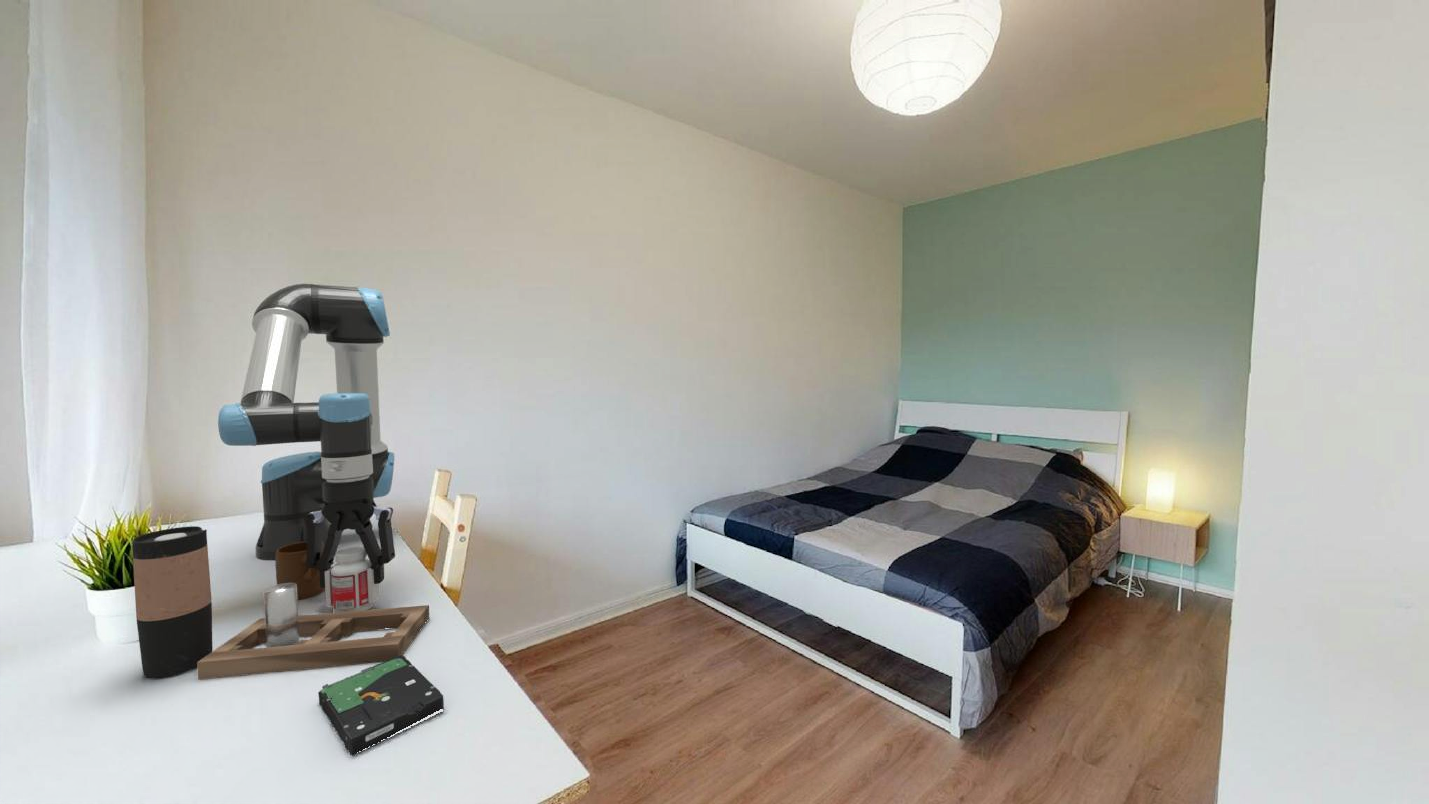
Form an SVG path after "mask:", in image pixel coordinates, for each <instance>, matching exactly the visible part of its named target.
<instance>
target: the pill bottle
mask: <svg viewBox="0 0 1429 804" xmlns="http://www.w3.org/2000/svg"><path fill="white" fill-rule="evenodd" d="M335 562H336V564H333V565H332V566H333V568H332V570H331V581H332V599H333V605H332V610H333V612H332V613H336V612H348V611H361V610H371V608H372V607H373V606H374V603H375V602H374V603H372V604H369V601H368V578H367V569H368V568H369V567H370V566H372V565H371V563H370V560H369V558H368V556H367V553H366V551H365V548H364V546H363V545H362V546H360V545H359V546H351V547H347V548H346V547H345V548H343V549H341V550H339V551H338V550H337V551H336V554H335Z"/></svg>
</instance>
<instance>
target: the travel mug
mask: <svg viewBox="0 0 1429 804" xmlns="http://www.w3.org/2000/svg"><path fill="white" fill-rule="evenodd" d="M207 531H208V529H203V528H202V527H200V526H194V525H193V526H191V525H190V526H182V527H181V526H179V527H173V528H172V527H171V528H166V529H162V530H156V531H151V532H148V533H147V532H146V533H144V534H141V535H139V536H136V537H134V538H133V539H132V541H131V543H132V544H131V546H132V563H133V565H132V566H133V581H134V582H133V583H134V597H135V598H134V599H135V602H134V603H135V615H136V616H135V617H136V627H137V635H138V641H139V650H140V659H141V667H142V668H141V669H142V674H143V676H144V678H145V679H149V680H159V679H166V678H171V677H176V676H179V675H182V674H184V673H185V674H186V673H187V672H190V671H194V670H196V669H197V662H198V661H200V660H201V659H203V658H204V657H205V656H207V655H208V654H210V653H211V652H213V603H212V598H213V597H212V590H211V589H212V588H211V573H210V561H209V560H210V559H209V550H208V549H209V548H208V534H207V533H208V532H207Z"/></svg>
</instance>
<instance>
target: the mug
mask: <svg viewBox="0 0 1429 804" xmlns="http://www.w3.org/2000/svg"><path fill="white" fill-rule="evenodd" d="M323 549H324V543H323V542H322V552H323ZM306 553H307V541H304V542H297V543H293V544H289V545H286V546H283V547H281V548H279V549H277V550H276V559H274V560H275V579H276V585H278V584H282V583H296V584H297V598H298V600H303V599H306V598H310V597H314V596H316V595H318V594H321V592H323V591H325V588H321V586H320V575H319V570H318V569H315V568H310V569H309V568H307V567H306Z"/></svg>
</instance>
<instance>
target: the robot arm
mask: <svg viewBox="0 0 1429 804" xmlns="http://www.w3.org/2000/svg"><path fill="white" fill-rule="evenodd" d="M251 326H252V329H253V331H254V332H255V337H254V342H253V346H252V350H251V354H250V359H249V363H248V366H247V372H246V376H245V381H244V385H243V389H242V394H241V398H240V402H237V403H233V404H225V405H223V406H222V408H221V409H219V412H218V417H217V427H218V434H219V437H220V440H221V441H222V443H223V444H225V445H227V446H233V447H234V446H235V447H237V446H239V447H240V446H242V447H243V446H244V447H246V446H247V447H248V446H249V447H250V446H252V447H256V446H264V445H265V446H266V445H278V444H282V445H283V444H293V443H309V442H310V443H312V442H313V443H315V442H316V443H317V442H320V450H321V451H309V452H302V453H301V452H300V453H295V454H291V455H287V456H285V455H284V456H281V457H277V458H274V459H271V460H268V461H267V462H265V463H264V464H263V465H262V467H261V480H260V484H261V487H262V490H261V491H262V505H263V506H262V507H263V526H262V528H261V530H260V533H259V537H258V539H257V542H256V545H255V555H256V558H258V559H262V560H275V559H276V550H277V549H279V548H281V547H283V546H286V545H289V544H293V543H297V542H304V541H307V553H306V567H307V568H309V569H310V568H315V569H318V570H319V575H320V586H321V588H325V589H324V591H325V607H326V608H331V607H333V599H332V581H331V570H332V568H333V566H334V565H335V562H336V561H334V560H335V558H336V555H335V554H336V553H337V552H338V548H339V544H340V541H341V538H342V535H343V532H344V531H345V530H352V531H353V530H355V533H356V535H358V536H359V539H360V541H361V543H362V547H364V548H365V551H366V553H367V556H366V557H367V559H369V560H370V563H371V565H372V566H370V567H369V568H368V569H367V578H368V601H369V604H372V603H376V601H377V600H379V598H380V597H381V595H380V594H381V592H380V591H381V590H380V584H382V582H384V580H385V565H386V564H389V563H390V562H391V561H392V560H394V559H395V557H396V552H395V542H394V535H393V527H392V517H393V513H394V509H393V508H392V507H386V508H384V507H380V506H379V507H378V506H377V504H376V502H375V500H374V499H375V498H376V499H377V498H383V497H385V496H387V495H389V493H390V492H391V490H392V484H393V478H394V477H393V476H394V468H395V467H394V465H395V453H394V452H391V451H388V450H389V447H388V444H386V443H384V442H383V441H382V440H381V424H380V423H381V421H380V420H381V419H380V417H381V416H380V399H379V398H380V395H379V371H378V369H379V368H378V349H379V348H380V347H381V346H383V344H384V343H385V342H384V337H385V338H387V337H389V336H391V334H390V333H391V332H390V329H389V323H388V317H387V311H386V307H385V301H384V296H383V294H382V293H381V291H379V290H378V289H373V288H366V287H360V286H357V287H356V286H342V285H326V284H313V283H297V284H293V285H288V286H286V287H283V288H280V289H278V290H277V291H275V292H273V293H271V294H270V295H268V296H267V297H266V298H265V299H263V301H262V302H261V303H260V304H259V305H258V306H257V308H256V309H255V311H254V312H253V316H252V321H251ZM310 334H311V335H312V334H315V335H325V339H326V343H327V344H328V345H329V346H330V347H331V348H333V350H334V360H335V361H334V362H335V363H334V364H335V380H336V393H325V394H321V395H320V396H319V399H318V402H313V401H312V402H295V395H296V387H297V379H298V373H299V372H298V371H299V363H300V358H301V357H300V356H301V348H302V341H303V340H304V339H306V338H307V336H309V335H310ZM373 515H375V520H377V529H378V537H379V542H378V540H377V538H376V535H375V532H374V530H373V524H372V521H371V518H372V517H373ZM322 542H323V543H324V549H323V552H322ZM379 543H380V544H379Z"/></svg>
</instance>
